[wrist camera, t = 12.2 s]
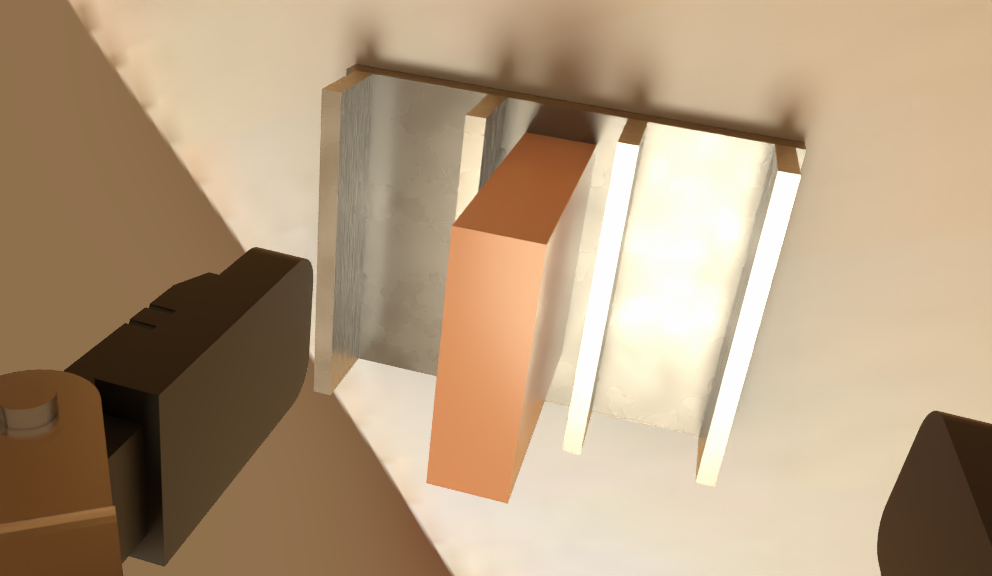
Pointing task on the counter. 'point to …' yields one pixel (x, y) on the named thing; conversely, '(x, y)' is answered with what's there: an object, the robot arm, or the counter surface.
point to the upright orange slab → (506, 313)
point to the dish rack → (602, 254)
